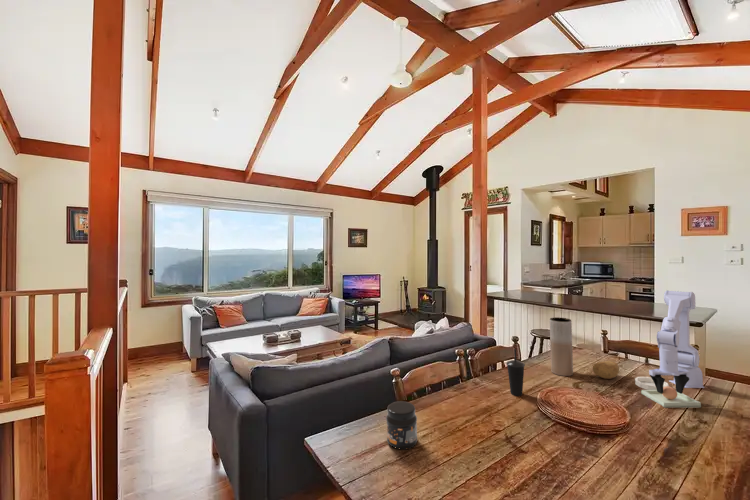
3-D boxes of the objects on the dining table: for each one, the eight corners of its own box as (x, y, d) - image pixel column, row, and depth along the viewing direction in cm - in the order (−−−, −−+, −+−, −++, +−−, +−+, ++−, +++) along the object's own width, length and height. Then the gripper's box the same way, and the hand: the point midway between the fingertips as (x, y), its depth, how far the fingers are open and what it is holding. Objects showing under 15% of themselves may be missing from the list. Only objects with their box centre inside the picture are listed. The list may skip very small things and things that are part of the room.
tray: (675, 394, 143) (675, 389, 143) (700, 407, 131) (700, 402, 131) (641, 394, 144) (641, 389, 144) (663, 407, 132) (663, 402, 132)
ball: (671, 396, 140) (670, 384, 140) (680, 401, 135) (680, 389, 135) (658, 395, 140) (658, 384, 140) (667, 401, 135) (667, 389, 135)
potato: (625, 378, 162) (625, 362, 162) (608, 384, 156) (607, 367, 156) (605, 372, 171) (604, 356, 171) (587, 377, 165) (587, 361, 165)
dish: (654, 381, 157) (654, 376, 157) (675, 392, 145) (675, 386, 145) (629, 381, 158) (629, 376, 158) (647, 392, 146) (647, 386, 146)
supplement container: (382, 437, 117) (381, 403, 117) (409, 431, 121) (408, 398, 121) (394, 454, 107) (393, 417, 107) (423, 446, 111) (422, 410, 111)
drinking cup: (522, 390, 152) (521, 346, 152) (528, 397, 144) (526, 351, 144) (505, 390, 153) (503, 346, 153) (510, 397, 145) (508, 351, 145)
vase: (546, 370, 175) (545, 318, 175) (561, 368, 178) (559, 316, 178) (562, 377, 165) (560, 322, 165) (577, 374, 168) (576, 320, 168)
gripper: (657, 363, 134) (658, 396, 134) (695, 363, 133) (696, 396, 133) (644, 357, 141) (645, 389, 141) (680, 357, 140) (681, 389, 140)
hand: (669, 392), depth 138 cm, fingers open, 7 cm apart
